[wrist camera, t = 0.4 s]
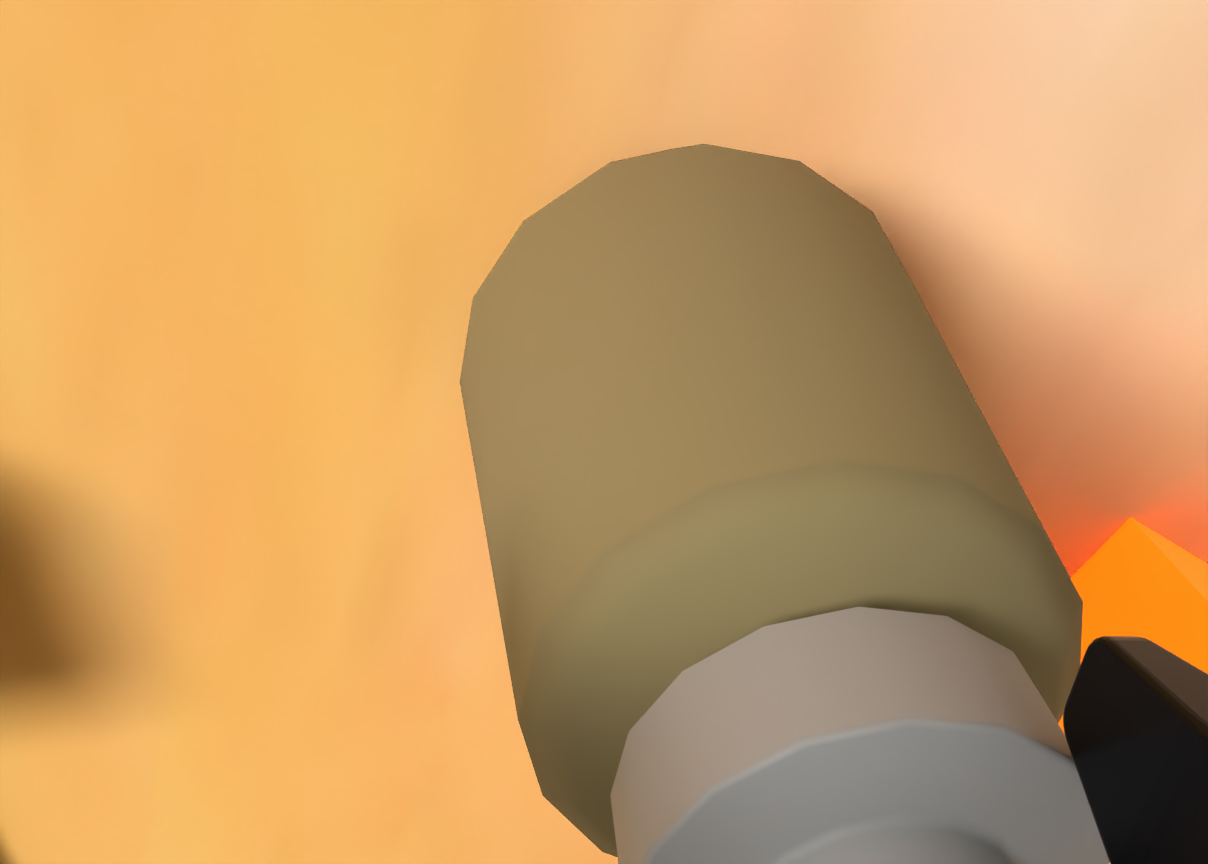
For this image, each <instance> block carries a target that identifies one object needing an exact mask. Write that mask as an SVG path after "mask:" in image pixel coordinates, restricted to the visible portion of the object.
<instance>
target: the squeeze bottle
mask: <svg viewBox="0 0 1208 864" xmlns="http://www.w3.org/2000/svg"><path fill="white" fill-rule="evenodd" d="M460 385H461V391H462V397H463V403H464V409H465V414H466V420H467V426H468V432H469V438H470V443H471V449H472V455H473V461H474V467H475V472H476V478H477V484H478V490H479V496H480V501H481V507H482V513H483V519H484V524H485V530H486V536H487V542H488V548H489V553H490V559H491V565H492V571H493V577H494V582H495V588H496V594H497V600H498V606H499V611H500V617H501V623H502V629H503V635H504V640H505V646H506V652H507V658H508V664H509V669H510V675H511V681H512V687H513V693H514V698H515V704H516V710H517V716H518V721H519V724H520V727H521V730H522V733H523V736H524V739H525V742H526V745H527V748H528V751H529V754H530V758H531V761H532V764H533V767H534V770H535V773H536V776H537V779H538V782H539V785H540V788H541V791H542V795H543V796H544V797H545V798H546V799H547V800H548V801H549V802H550V803H551V804H552V805H553V806H554V807H555V808H557V809H558V810H559V811H560V812H561V813H562V814H563V815H564V816H565V817H566V818H567V819H568V820H569V821H570V822H571V823H572V824H574V825H575V826H576V827H577V828H578V829H579V830H580V831H581V832H582V833H583V834H584V835H585V836H586V837H587V838H588V839H590V840H591V841H592V842H593V843H594V844H595V845H596V846H597V847H598V848H599V849H600V850H601V851H602V852H605V853H607V854H610V855H613V856H615V857H618V863H619V864H1110V862H1109V859H1108V856H1107V854H1106V851H1105V848H1104V845H1103V842H1102V839H1101V837H1100V834H1099V831H1098V828H1097V825H1096V823H1095V820H1094V817H1093V814H1092V811H1091V808H1090V806H1089V803H1088V800H1087V797H1086V794H1085V791H1084V789H1083V786H1082V783H1081V780H1080V777H1079V775H1078V772H1077V769H1076V766H1075V763H1074V760H1073V758H1072V755H1071V752H1070V749H1069V746H1068V744H1067V741H1066V737H1065V734H1064V733H1063V731H1062V729H1061V728H1060V726H1059V724H1058V723H1059V721H1060V720H1061V718H1062V716H1063V714H1064V708H1065V704H1066V701H1067V699H1068V696H1069V694H1070V691H1071V688H1072V686H1073V683H1074V681H1075V678H1076V675H1077V673H1078V670H1079V668H1080V663H1081V640H1082V616H1083V601H1082V599H1081V597H1080V595H1079V593H1078V591H1077V590H1076V588H1075V586H1074V584H1073V582H1072V580H1071V578H1070V576H1069V575H1068V573H1067V571H1066V569H1065V567H1064V565H1063V563H1062V562H1061V560H1060V558H1059V556H1058V554H1057V552H1056V550H1055V548H1054V547H1053V545H1052V543H1051V541H1050V539H1049V537H1048V535H1047V534H1046V532H1045V530H1044V528H1043V526H1042V524H1041V522H1040V520H1039V519H1038V517H1037V515H1036V513H1035V511H1034V509H1033V507H1032V506H1031V504H1030V502H1029V500H1028V498H1027V496H1026V494H1025V492H1024V491H1023V489H1022V487H1021V485H1020V483H1019V481H1018V479H1017V478H1016V476H1015V474H1014V472H1013V470H1012V468H1011V466H1010V464H1009V463H1008V461H1007V459H1006V457H1005V455H1004V453H1003V451H1002V450H1001V448H1000V446H999V444H998V442H997V440H996V438H995V436H994V435H993V433H992V431H991V429H990V427H989V425H988V423H987V422H986V420H985V418H984V416H983V414H982V412H981V410H980V408H979V407H978V405H977V403H976V401H975V399H974V397H973V395H972V394H971V392H970V390H969V388H968V386H967V384H966V382H965V380H964V379H963V377H962V375H961V373H960V371H959V369H958V367H957V366H956V364H955V362H954V360H953V358H952V356H951V354H950V352H949V351H948V349H947V347H946V345H945V343H944V341H943V339H942V338H941V336H940V334H939V332H938V330H937V328H936V326H935V324H934V323H933V321H932V319H931V317H930V315H929V313H928V311H927V310H926V308H925V306H924V304H923V302H922V300H921V298H920V296H919V295H918V293H917V291H916V289H915V287H914V285H913V283H912V282H911V280H910V278H909V276H908V274H907V273H906V271H905V269H904V267H903V265H902V264H901V262H900V260H899V258H898V256H897V255H896V253H895V251H894V249H893V247H892V246H891V244H890V242H889V240H888V238H887V237H886V235H885V233H884V231H883V229H882V228H881V226H880V224H879V222H878V220H877V219H876V217H875V215H874V213H873V212H872V211H871V210H869V209H868V208H866V207H865V206H864V205H862V204H861V203H859V202H858V201H856V200H855V199H853V198H852V197H850V196H849V195H848V194H846V193H845V192H843V191H842V190H840V189H839V188H837V187H836V186H835V185H833V184H832V183H830V182H829V181H827V180H826V179H824V178H823V177H822V176H820V175H819V174H817V173H816V172H814V171H813V170H811V169H810V168H809V167H807V166H806V165H804V164H803V163H801V162H800V161H796V160H791V159H785V158H779V157H774V156H768V155H763V154H757V153H752V152H746V151H741V150H735V149H730V148H724V147H718V146H713V145H707V144H701V145H694V146H688V147H682V148H676V149H670V150H665V151H661V152H656V153H651V154H647V155H642V156H638V157H633V158H629V159H624V160H619V161H615V162H611V163H609V164H607V165H605V166H604V167H603V168H601V169H600V170H598V171H597V172H595V173H594V174H592V175H591V176H589V177H588V178H586V179H585V180H583V181H582V182H580V183H579V184H577V185H576V186H575V187H573V188H572V189H570V190H569V191H567V192H566V193H564V194H563V195H561V196H560V197H558V198H557V199H555V200H554V201H552V202H551V203H549V204H548V205H547V206H545V207H544V208H542V209H541V210H539V211H538V212H536V213H535V214H533V215H532V216H530V217H529V218H527V219H526V220H524V221H523V223H522V224H521V226H520V227H519V229H518V230H517V232H516V233H515V235H514V236H513V238H512V240H511V241H510V243H509V244H508V246H507V247H506V249H505V250H504V252H503V253H502V255H501V256H500V258H499V259H498V261H497V262H496V264H495V265H494V267H493V268H492V270H491V272H490V273H489V275H488V276H487V278H486V279H485V281H484V282H483V284H482V285H481V287H480V288H479V290H478V291H477V293H476V294H475V296H474V297H473V301H472V308H471V314H470V320H469V327H468V333H467V339H466V346H465V352H464V358H463V365H462V371H461V378H460Z"/></svg>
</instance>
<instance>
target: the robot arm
mask: <svg viewBox="0 0 1208 864" xmlns="http://www.w3.org/2000/svg"><path fill="white" fill-rule="evenodd" d="M1063 727H1064V733H1065V737H1066V741H1067V744H1068V746H1069V749H1070V752H1071V755H1072V758H1073V760H1074V763H1075V766H1076V769H1077V772H1078V775H1079V777H1080V780H1081V783H1082V786H1083V789H1084V791H1085V794H1086V797H1087V800H1088V803H1089V806H1090V808H1091V811H1092V814H1093V817H1094V820H1095V823H1096V825H1097V828H1098V831H1099V834H1100V837H1101V839H1102V842H1103V845H1104V848H1105V851H1106V854H1107V856H1108V859H1109V862H1110V864H1208V674H1207V673H1205V672H1204V671H1202V670H1200V669H1198V668H1197V667H1195V666H1193V665H1192V664H1190V663H1188V662H1187V661H1185V660H1183V659H1181V658H1180V657H1178V656H1176V655H1175V654H1173V653H1171V652H1169V651H1168V650H1166V649H1164V648H1163V647H1161V646H1159V645H1158V644H1156V643H1154V642H1152V641H1151V640H1149V639H1147V638H1143V637H1138V636H1101V637H1099V638H1096V639H1095V640H1093V641H1092V642H1091V643H1090V644H1089V646H1088V648H1087V650H1086V652H1085V655H1084V657H1083V660H1082V662H1081V665H1080V668H1079V670H1078V673H1077V675H1076V678H1075V681H1074V683H1073V686H1072V688H1071V691H1070V694H1069V696H1068V699H1067V701H1066V704H1065V708H1064V714H1063Z"/></svg>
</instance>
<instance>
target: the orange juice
mask: <svg viewBox="0 0 1208 864" xmlns="http://www.w3.org/2000/svg"><path fill="white" fill-rule="evenodd" d="M1071 580H1072V582H1073V584H1074V586H1075V588H1076V590H1077V591H1078V593H1079V595H1080V597H1081V599H1082V601H1083V616H1082V640H1081V662H1082V660H1083V657H1084V655H1085V652H1086V650H1087V648H1088V646H1089V644H1090V643H1091V642H1092V641H1093V640H1095V639H1096V638H1099V637H1101V636H1138V637H1143V638H1147V639H1149V640H1151V641H1152V642H1154V643H1156V644H1158V645H1159V646H1161V647H1163V648H1164V649H1166V650H1168V651H1169V652H1171V653H1173V654H1175V655H1176V656H1178V657H1180V658H1181V659H1183V660H1185V661H1187V662H1188V663H1190V664H1192V665H1193V666H1195V667H1197V668H1198V669H1200V670H1202V671H1204V672H1205V673H1207V674H1208V563H1206V562H1204V561H1203V560H1201V559H1199V558H1198V557H1196V556H1194V555H1193V554H1191V553H1189V552H1188V551H1186V550H1184V549H1183V548H1181V547H1179V546H1178V545H1176V544H1175V543H1173V542H1171V541H1170V540H1168V539H1166V538H1165V537H1163V536H1161V535H1160V534H1158V533H1156V532H1155V531H1153V530H1151V529H1150V528H1148V527H1146V526H1145V525H1143V524H1141V523H1140V522H1138V521H1136V520H1135V519H1133V518H1132V517H1130V518H1129V519H1128V520H1127V521H1126V522H1125V523H1124V524H1123V525H1122V526H1121V527H1120V528H1119V529H1118V530H1117V531H1116V532H1115V533H1114V534H1113V535H1112V536H1111V537H1110V538H1109V539H1108V540H1107V541H1106V542H1105V543H1104V544H1103V545H1102V546H1101V547H1100V548H1099V549H1098V550H1097V551H1096V552H1095V553H1094V554H1093V555H1092V556H1091V557H1090V558H1089V559H1088V560H1087V561H1086V563H1085V564H1084V565H1083V566H1082V567H1081V568H1080V569H1079V570H1078V571H1077V572H1076V573H1075V574H1074V575H1073V576H1072V577H1071ZM1080 665H1081V663H1080ZM1058 724H1059V726H1060V728H1061V729H1062V731H1063V733H1064V727H1063V716H1062V718H1061V720H1060V721H1059V723H1058ZM1064 734H1065V733H1064Z"/></svg>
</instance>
